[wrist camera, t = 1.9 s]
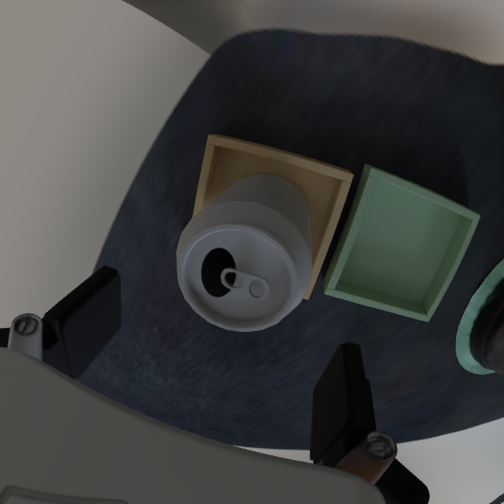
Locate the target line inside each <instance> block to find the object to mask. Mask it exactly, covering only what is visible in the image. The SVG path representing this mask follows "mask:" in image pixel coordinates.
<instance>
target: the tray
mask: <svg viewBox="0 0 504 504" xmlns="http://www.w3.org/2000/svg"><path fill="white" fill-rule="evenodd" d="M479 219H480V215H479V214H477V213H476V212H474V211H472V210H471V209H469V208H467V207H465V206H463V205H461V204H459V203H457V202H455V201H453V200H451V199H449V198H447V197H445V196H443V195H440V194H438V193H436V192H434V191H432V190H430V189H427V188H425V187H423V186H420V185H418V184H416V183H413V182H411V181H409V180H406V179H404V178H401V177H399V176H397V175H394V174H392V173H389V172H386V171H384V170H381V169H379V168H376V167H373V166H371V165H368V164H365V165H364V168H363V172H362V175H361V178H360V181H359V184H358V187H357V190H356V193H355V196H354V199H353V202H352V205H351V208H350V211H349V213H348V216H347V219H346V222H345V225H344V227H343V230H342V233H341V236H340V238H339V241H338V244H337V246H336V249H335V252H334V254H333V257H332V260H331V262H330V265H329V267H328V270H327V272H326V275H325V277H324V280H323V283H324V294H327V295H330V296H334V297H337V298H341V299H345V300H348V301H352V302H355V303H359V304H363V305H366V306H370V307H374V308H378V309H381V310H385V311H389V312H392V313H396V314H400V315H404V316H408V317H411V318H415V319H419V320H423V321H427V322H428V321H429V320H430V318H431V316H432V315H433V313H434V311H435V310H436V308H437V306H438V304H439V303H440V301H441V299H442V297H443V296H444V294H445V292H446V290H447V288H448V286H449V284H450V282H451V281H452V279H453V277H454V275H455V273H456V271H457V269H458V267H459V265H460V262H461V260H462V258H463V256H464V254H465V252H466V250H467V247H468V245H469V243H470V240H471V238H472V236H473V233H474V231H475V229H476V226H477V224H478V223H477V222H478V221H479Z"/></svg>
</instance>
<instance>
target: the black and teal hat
mask: <svg viewBox="0 0 504 504" xmlns="http://www.w3.org/2000/svg"><path fill="white" fill-rule="evenodd" d="M456 355H457V358H458V361H459V363H460V364H461V365H462V367H464V368H465V369H466V370H468V371H470V372H472V373H475V374H488V373H493V372H496V373H498V374H501V375H503V376H504V259H503V260H502V261H501V262H500V263H499V264H498V265H497V266H496V267H495V268H494V269H493V270H492V271H491V273H490V274H489V275H488V276H487V277H486V279H485V280H484V282H483V283H482V284H481V286H480V287H479V289H478V290H477V291H476V292H475V294H474V295H473V296H472V298H471V300H470V302H469V304H468V306H467V308H466V310H465V312H464V314H463V317H462V319H461V322H460V324H459V327H458V331H457V336H456Z"/></svg>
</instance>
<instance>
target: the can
mask: <svg viewBox="0 0 504 504" xmlns="http://www.w3.org/2000/svg"><path fill="white" fill-rule="evenodd" d="M176 255H177V275H178V284H179V286H180V288H181V291H182V293H183V295H184V298H185V299H186V301H187V302H188V303H189V304H190V306H191V307H192V308H193V309H194V311H195V312H196V313H198V314H199V315H200V316H202V317H203V318H204V319H206V320H207V321H208V322H210V323H212V324H214V325H217V326H219V327H222V328H224V329H227V330H233V331H241V332H249V331H257V330H262V329H265V328H267V327H269V326H272V325H274V324H276V323H278V322H279V321H280V320H281V319H282V318H283V317H285V316H286V315H287V314H288V313H290V312H291V311H292V310H293V309H294V308H295V307H296V306H297V305H298V304H299V303H301V301H302V299H303V297H304V295H305V293H306V291H307V290H308V288H309V286H310V279H311V271H312V249H311V229H310V214H309V210H308V206H307V202H306V200H305V198H304V197H303V195H302V193H301V192H300V190H299V189H298V188H297V187H296V186H295V185H293V184H292V183H291V182H290V181H289V180H287V179H285V178H282V177H280V176H277V175H275V174H267V173H257V174H253V175H249V176H245V177H243V178H242V179H240V180H239V181H237V182H236V183H234V184H233V185H232V186H230V187H229V188H228V189H227V190H225V191H224V192H223V193H222V194H220V195H219V196H218V197H217V198H216V199H214V200H213V201H212V202H211V203H210V204H208V205H207V206H206V207H205V208H204V209H202V210H201V211H200V212H199V213H198V214H196V215H195V216H194V217H193V218H192V219H191V221H190V222H189V223H188V225H187V226H186V228H185V229H184V231H183V232H182V234H181V236H180V240H179V244H178V248H177V252H176Z"/></svg>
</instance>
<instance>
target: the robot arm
mask: <svg viewBox="0 0 504 504" xmlns="http://www.w3.org/2000/svg"><path fill="white" fill-rule="evenodd" d="M120 326H121V278H120V275H119V274H118V271H117V270H116V269H114V268H111V267H108V266H103V267H102V268H100V269H99V270H98V271H97V272H95V273H94V274H93V275H91V276H90V277H89V278H88V279H87V280H85V281H84V282H83V283H81V284H80V285H79V286H78V287H77V288H75V289H74V290H73V291H72V292H70V293H69V294H68V295H67V296H66V297H64V298H63V299H62V300H61V301H59V302H58V303H57V304H56V305H55V306H54V307H52V308H51V309H50V310H49V311H48V312H46V314H45V315H44V317H43V318H42V319H41V318H40V317H39V316H37V315H35V314H31V313H26V314H22V315H19V316H18V317H16V318H15V319H14V320H13V322H12V324H11V328H0V504H428V502H429V497H430V495H429V490H428V488H427V486H426V485H425V484H424V483H423V482H422V481H420V480H419V479H418V478H417V477H416V476H415V475H413V474H412V473H411V472H410V471H409V470H408V469H407V468H406V467H405V466H403V465H402V464H401V463H400V462H399V461H398V460H397V459H396V458H395V457H396V455H397V445H396V443H395V441H394V439H393V438H392V437H391V436H390V435H388V434H386V433H384V432H381V431H376V423H375V415H374V408H373V401H372V394H371V387H370V382H369V380H368V379H367V378H365V373H364V367H363V361H362V355H361V349H360V345H359V344H355V343H350V342H345V343H344V344H340V345H339V346H338V348H337V350H336V351H335V353H334V355H333V357H332V359H331V360H330V362H329V364H328V365H327V367H326V369H325V371H324V372H323V374H322V376H321V377H320V379H319V381H318V382H317V384H316V386H315V388H314V392H313V410H312V430H311V446H310V460H313V464H312V463H307V462H302V461H296V460H291V459H286V458H281V457H276V456H272V455H267V454H263V453H259V452H255V451H251V450H247V449H242V448H239V447H235V446H232V445H228V444H225V443H221V442H218V441H215V440H211V439H208V438H205V437H202V436H199V435H196V434H193V433H190V432H187V431H184V430H182V429H179V428H176V427H174V426H171V425H168V424H166V423H163V422H161V421H158V420H156V419H153V418H151V417H149V416H146V415H144V414H142V413H139V412H137V411H135V410H133V409H130V408H128V407H126V406H124V405H122V404H120V403H118V402H115V401H113V400H111V399H109V398H107V397H105V396H103V395H101V394H99V393H98V392H96V391H94V390H92V389H90V388H88V387H86V386H85V385H83V384H81V383H79V382H77V381H76V380H74V379H75V378H76V379H78V378H79V377H80V376H81V375H82V374H83V372H84V371H85V370H86V369H87V368H88V366H89V365H90V364H91V363H92V361H93V360H94V359H95V358H96V357H97V355H98V354H99V353H100V352H101V350H102V349H103V348H104V347H105V346H106V344H107V343H108V342H109V341H110V340H111V339H112V337H113V336H114V335H115V334H116V333H117V331H118V330H119V329H120Z"/></svg>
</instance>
